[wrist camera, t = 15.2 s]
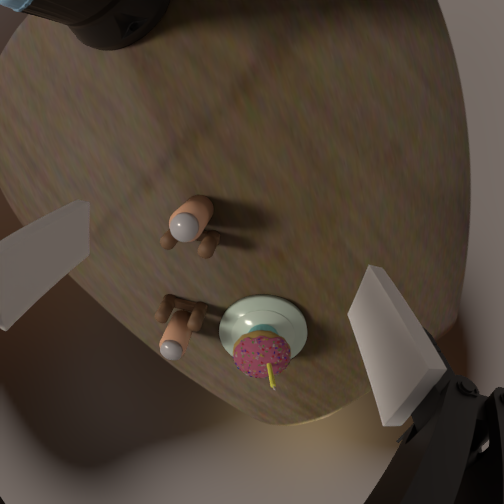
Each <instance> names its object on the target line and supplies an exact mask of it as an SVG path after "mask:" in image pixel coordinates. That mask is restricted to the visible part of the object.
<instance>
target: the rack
mask: <svg viewBox="0 0 504 504" xmlns="http://www.w3.org/2000/svg"><path fill="white" fill-rule="evenodd" d="M196 240H197V241H202V242H201V244H200V245H199V247H198V254H199V255H200V256H201V257H202V258H205V259H207V258H210V257H212V255H213V253H214V251H215V249H216V246H217V245H218V244H219V240H220V234H219V233H218V232H217V231H215V230H210V231H208V232H207V231H203V232H202V233H201V235H200V236H199V237H198V238H197V239H196ZM178 241H179V240H177V239H175V238H174V237H173V236H172V234H171V232H170V229H169V230H168V231H167V232H166V233H165V234H164V235H163V236H162V237H161V239H160V244H161V246H162V247H163V248H164V249H167V250H170V249H172V248H173V247H174V246H175V245H176V243H177V242H178ZM174 307H175V308H178V309H182V310H186V311H190V312H192V314H191V316H190V319H189V321H188V324H187V326H188V328H189V329H190V330H191V331H195V332H196V331H199V330H200V329H201V326H202V323H203V320H204V317H205V315H206V312H207V307H208V305H206V304H205V303H203V302H197V303H195V302H191V301H187V300H183V299H179V298H176V297H175V296H174V295H172V294H167V295H165V296H164V298H163V301H162V303H161V305H160V307H159V308H158V310H157V312H156V314H155V319H156V320H157V321H158V322H160V323H165V322H167V320H168V318H169V316H170V314H171V312H172V310H173V308H174Z"/></svg>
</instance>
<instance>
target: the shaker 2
mask: <svg viewBox="0 0 504 504" xmlns="http://www.w3.org/2000/svg"><path fill="white" fill-rule="evenodd" d="M190 316H191V313H189V312H187V311H184V310H179V311H176V312H175V313H174V314H173V316H172V318H171V320H170V322H169V324H168V326H167V328H166V330H165V332H164V335H163V337H162V339H161V341H160V352H161V354H162V355H163V356H164V357H165V358H167V359H170V360H178V359H179V358H180V357H182V356H183V355H184V354H185V352H186V349H187V346H188V343H189V340H190V338H191V335H192V332H193V331H191V330H190V329H189V328H188V326H187V324H188V321H189V319H190Z"/></svg>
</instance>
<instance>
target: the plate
mask: <svg viewBox="0 0 504 504" xmlns="http://www.w3.org/2000/svg"><path fill="white" fill-rule="evenodd" d="M259 324H266V325H270V326H272V327H273V328H275V329H276V331H277V332H278V334H279V336H282V337H283V338H285V340H286V341H287V343H288V344H289V345H290V348H291V359H292V358H293V357H294V356H296V355H297V354H298V353H299V352H300V351H301V349H302V348H303V346H304V344H305V342H306V339H307V325H306V321H305V318H304V316H303V314H302V312H301V311H300V310H299V309H298V308H297V307H296V306H295V305H294V304H293V303H291V302H290V301H288V300H286V299H284V298H281V297H278V296H274V295H267V294H259V295H252V296H248V297H244V298H242V299H240V300H238V301H236V302H234V303H233V304H232V305H231V306H230V307H229V308H228V309H227V310H226V311H225V313H224V314H223V316H222V319H221V323H220V327H219V336H220V340H221V343H222V345H223V346H224V348H225V349H226V350H227V352H228V353H229V354H230V355H232V356H233V347H234V344H235V342H236V341H237V340H238V339H239V338H240V337H241V336H242V335H244V334H247V333H248V332H249V330H250V329H251V328H252V327H254V326H256V325H259Z"/></svg>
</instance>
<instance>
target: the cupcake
mask: <svg viewBox="0 0 504 504" xmlns="http://www.w3.org/2000/svg"><path fill="white" fill-rule="evenodd" d="M233 358H234V362H235V364H236V365H237V368H239V369H240V370H241V371H243V372H244V374H247V375H249V376H251V377H252V376H253V377H255V378H257V377H259V378H264V379H265V378H266V377H269V380H270V385H271V387H272V388H274V390H276V389H275V386H276V384H275V379H274V376H275V375H277V374H279V373H281V372H282V371H284V369H286V367H287V366H288V364H289V363H290V359H291V348H290V345H289V344H288V343H287V341H286V340H285V338H283V337H282V336H279V334H278V332H277V331H276V329H275V328H273V327H272V326H270V325H266V324H259V325H256V326H254V327H252V328H251V329H250V330H249V332H248V333H247V334H244V335H242V336H241V337H240V338H239V339H238V340H237V341H236V342H235V344H234V347H233Z"/></svg>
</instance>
